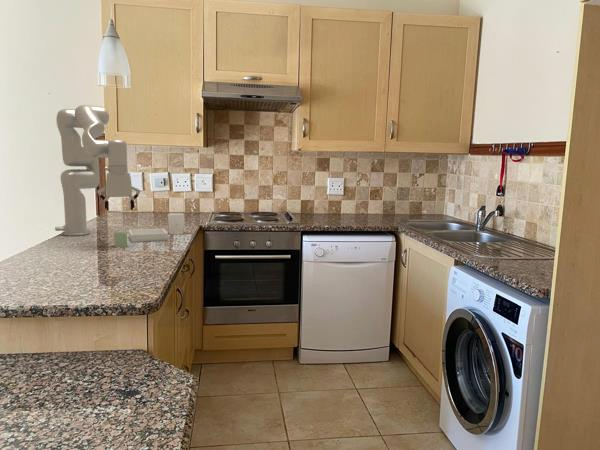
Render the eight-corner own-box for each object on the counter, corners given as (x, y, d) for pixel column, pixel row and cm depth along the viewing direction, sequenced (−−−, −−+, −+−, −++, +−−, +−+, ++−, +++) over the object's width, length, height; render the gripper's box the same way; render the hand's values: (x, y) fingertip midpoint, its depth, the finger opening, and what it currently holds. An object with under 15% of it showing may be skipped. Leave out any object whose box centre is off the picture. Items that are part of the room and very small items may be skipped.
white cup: (165, 234, 242) (164, 214, 241) (175, 232, 249) (175, 212, 248) (177, 235, 239) (176, 215, 237) (187, 233, 246) (187, 213, 244)
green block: (115, 247, 206) (114, 233, 205) (114, 245, 211) (113, 231, 210) (127, 246, 208) (127, 233, 207) (126, 244, 213) (126, 231, 212)
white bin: (131, 242, 218) (131, 234, 217) (128, 237, 232) (128, 229, 232) (168, 240, 224) (167, 233, 224) (163, 235, 239) (162, 228, 238)
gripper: (96, 170, 198) (98, 211, 200) (140, 170, 205) (142, 210, 207) (95, 169, 205) (97, 210, 207) (138, 169, 212) (140, 208, 214)
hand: (119, 210), depth 207 cm, fingers open, 9 cm apart
